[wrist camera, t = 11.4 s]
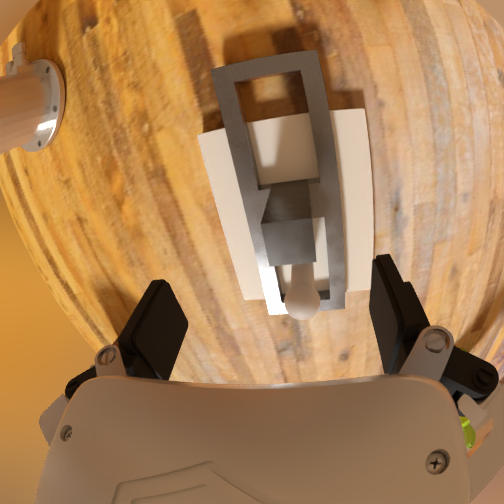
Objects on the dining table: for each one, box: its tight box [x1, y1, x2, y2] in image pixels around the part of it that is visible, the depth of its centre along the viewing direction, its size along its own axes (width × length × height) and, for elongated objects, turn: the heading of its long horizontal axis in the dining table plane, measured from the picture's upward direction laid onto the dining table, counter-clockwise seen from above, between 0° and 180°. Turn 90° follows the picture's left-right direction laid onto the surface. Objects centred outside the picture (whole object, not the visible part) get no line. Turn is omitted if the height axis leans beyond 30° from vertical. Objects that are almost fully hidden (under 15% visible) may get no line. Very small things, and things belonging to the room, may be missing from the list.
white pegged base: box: [197, 108, 374, 320], centre depth 21 cm, size 18×14×9 cm
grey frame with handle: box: [211, 50, 345, 314], centre depth 20 cm, size 24×8×8 cm, turn 12°
